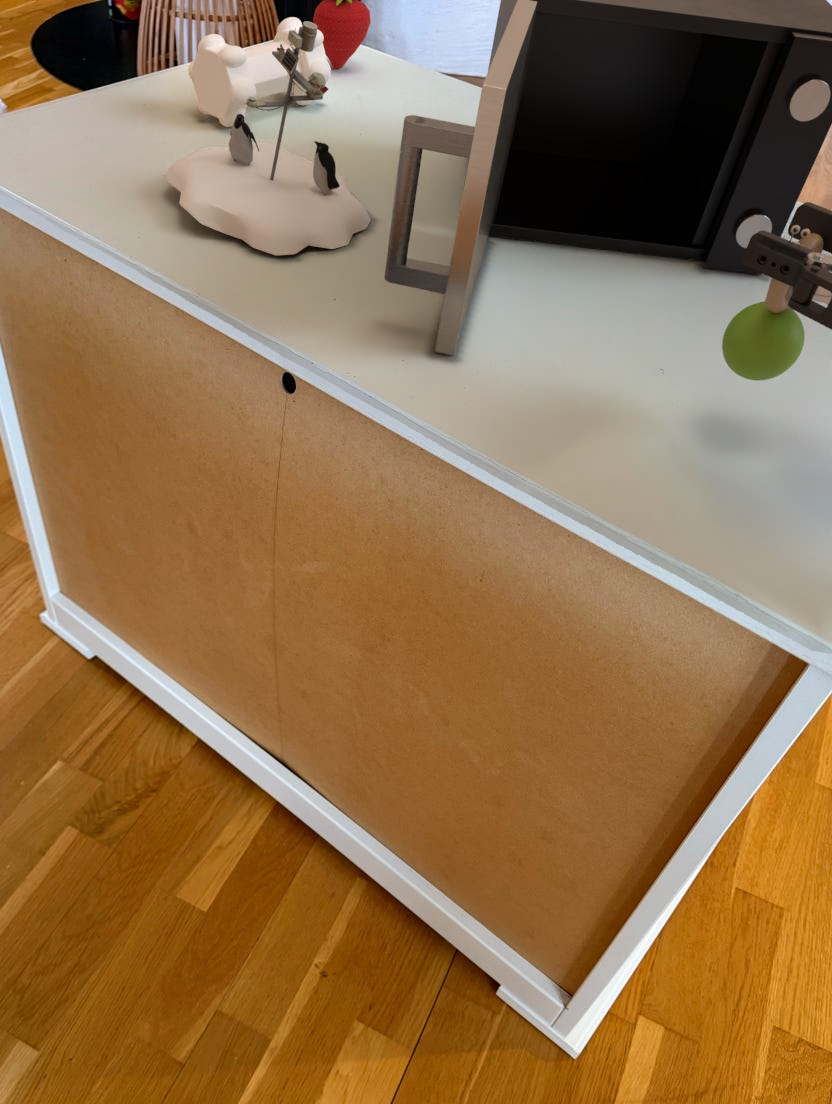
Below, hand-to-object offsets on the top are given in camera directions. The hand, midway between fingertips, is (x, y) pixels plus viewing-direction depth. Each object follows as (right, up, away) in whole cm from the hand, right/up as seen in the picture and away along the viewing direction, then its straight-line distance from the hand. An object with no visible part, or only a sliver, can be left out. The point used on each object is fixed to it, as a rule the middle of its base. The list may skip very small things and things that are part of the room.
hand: (773, 231), depth 62 cm
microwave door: (-21, +4, +21) cm, 30 cm away
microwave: (-1, +17, +35) cm, 39 cm away
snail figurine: (+1, -8, +7) cm, 10 cm away
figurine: (-37, +14, +28) cm, 48 cm away
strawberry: (-30, +45, +56) cm, 78 cm away
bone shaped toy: (-39, +33, +44) cm, 67 cm away
